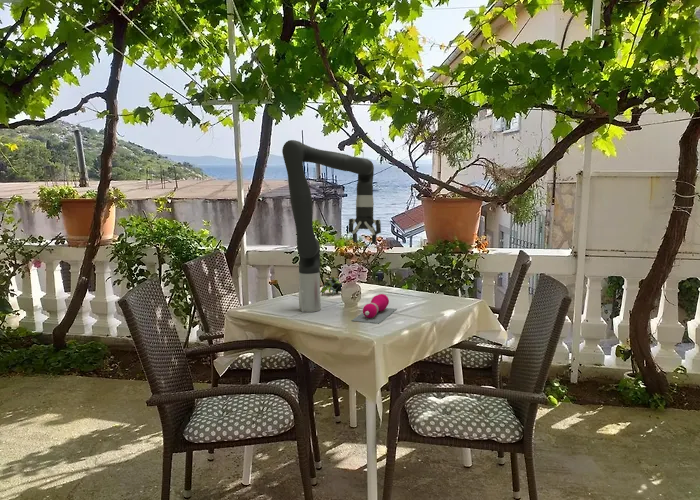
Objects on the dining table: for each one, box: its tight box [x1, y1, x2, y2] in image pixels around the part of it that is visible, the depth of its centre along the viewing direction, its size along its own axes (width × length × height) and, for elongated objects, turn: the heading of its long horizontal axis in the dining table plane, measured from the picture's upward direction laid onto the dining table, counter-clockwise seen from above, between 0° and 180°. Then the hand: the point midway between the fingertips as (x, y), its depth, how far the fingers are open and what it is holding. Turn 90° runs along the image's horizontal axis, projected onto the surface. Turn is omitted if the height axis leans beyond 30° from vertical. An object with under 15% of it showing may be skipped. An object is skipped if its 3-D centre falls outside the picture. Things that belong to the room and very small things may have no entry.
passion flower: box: [320, 275, 343, 297], centre depth 261 cm, size 11×11×12 cm
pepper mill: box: [362, 293, 390, 318], centre depth 219 cm, size 7×7×20 cm
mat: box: [351, 307, 398, 325], centre depth 220 cm, size 24×12×1 cm, turn 157°
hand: (364, 242), depth 223 cm, fingers open, 8 cm apart
